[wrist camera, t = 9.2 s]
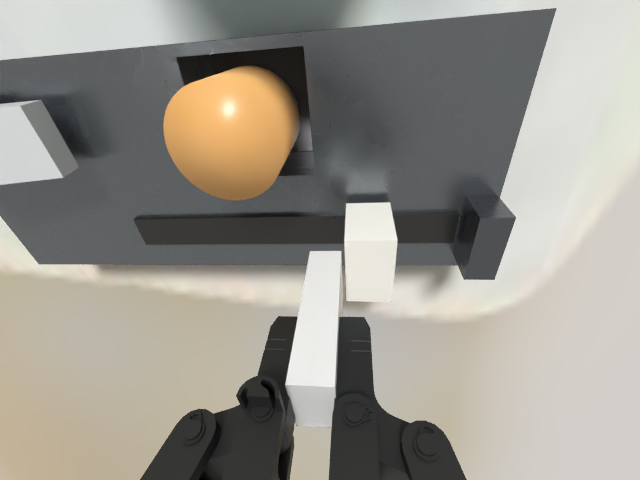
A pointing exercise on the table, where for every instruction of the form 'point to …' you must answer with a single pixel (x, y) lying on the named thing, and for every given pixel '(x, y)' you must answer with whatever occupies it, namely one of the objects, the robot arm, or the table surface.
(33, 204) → the console panel
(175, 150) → the orange button
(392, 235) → the slider knob
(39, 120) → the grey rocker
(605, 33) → the table surface
